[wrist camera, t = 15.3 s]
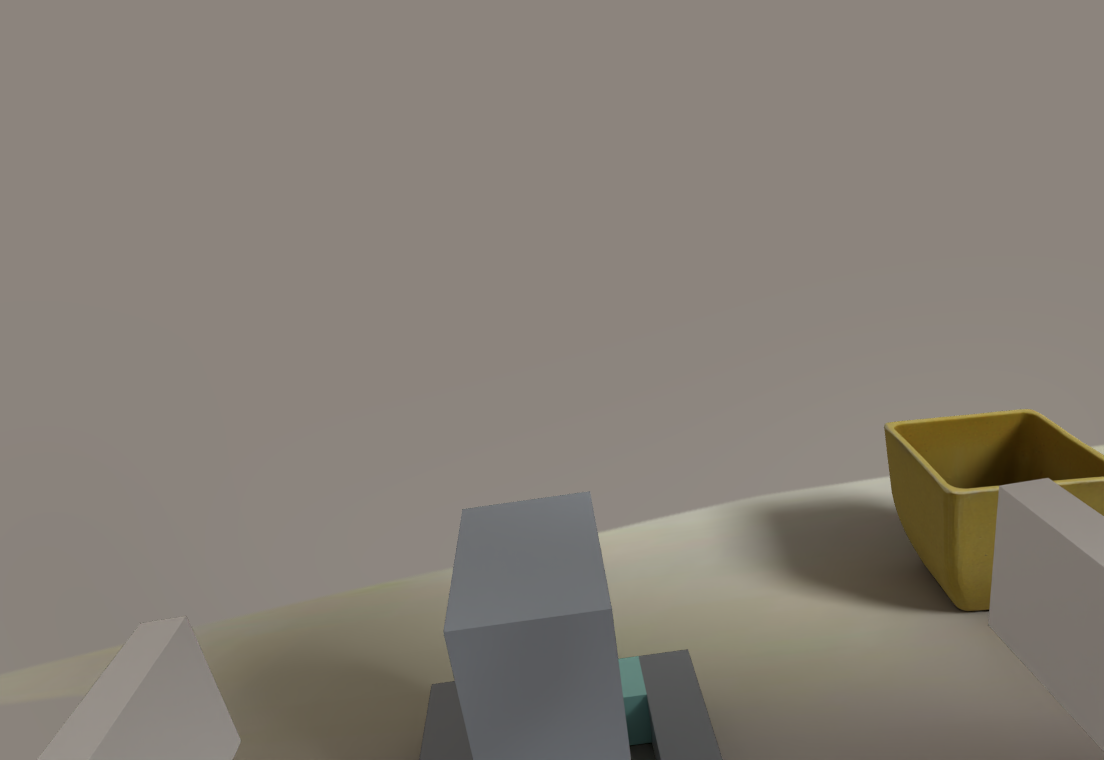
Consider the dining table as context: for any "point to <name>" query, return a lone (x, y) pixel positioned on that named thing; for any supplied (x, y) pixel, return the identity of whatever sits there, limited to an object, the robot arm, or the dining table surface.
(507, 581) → the plug
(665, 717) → the socket
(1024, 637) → the robot arm
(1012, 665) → the dining table surface
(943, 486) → the flower pot
